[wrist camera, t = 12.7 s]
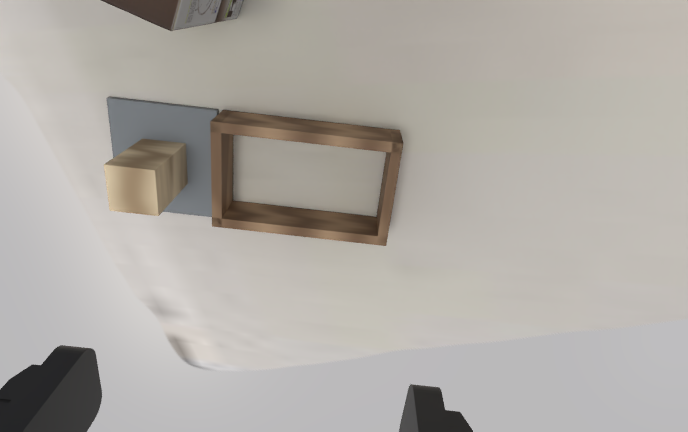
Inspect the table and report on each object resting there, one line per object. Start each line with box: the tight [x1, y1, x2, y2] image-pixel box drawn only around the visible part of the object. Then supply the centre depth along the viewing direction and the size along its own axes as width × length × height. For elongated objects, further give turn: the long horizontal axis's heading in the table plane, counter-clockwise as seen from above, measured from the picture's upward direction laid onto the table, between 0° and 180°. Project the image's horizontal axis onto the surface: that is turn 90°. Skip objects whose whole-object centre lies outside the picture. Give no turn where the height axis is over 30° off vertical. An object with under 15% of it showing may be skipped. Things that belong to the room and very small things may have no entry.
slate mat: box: [107, 97, 218, 217], centre depth 50 cm, size 11×12×1 cm
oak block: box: [104, 138, 188, 216], centre depth 46 cm, size 4×4×8 cm
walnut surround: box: [210, 110, 403, 246], centre depth 48 cm, size 18×11×4 cm, turn 84°
